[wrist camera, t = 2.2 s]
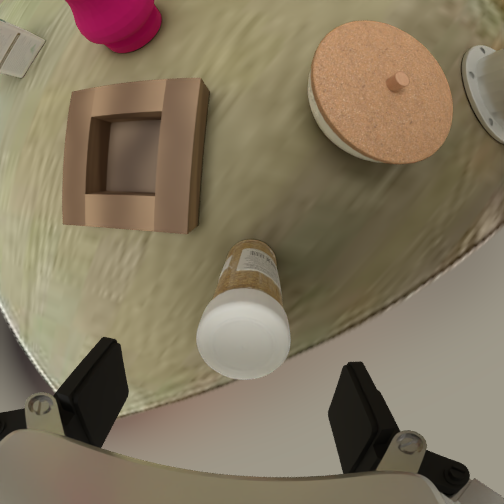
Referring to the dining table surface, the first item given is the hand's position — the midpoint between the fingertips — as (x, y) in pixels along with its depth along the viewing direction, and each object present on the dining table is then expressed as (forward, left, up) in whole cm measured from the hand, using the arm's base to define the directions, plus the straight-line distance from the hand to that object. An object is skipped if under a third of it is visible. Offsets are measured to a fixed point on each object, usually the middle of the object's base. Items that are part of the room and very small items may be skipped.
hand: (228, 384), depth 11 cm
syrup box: (+31, -24, -16) cm, 42 cm away
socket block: (+11, -9, -16) cm, 21 cm away
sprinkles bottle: (0, 0, -16) cm, 16 cm away
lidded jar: (-8, -15, -16) cm, 24 cm away
